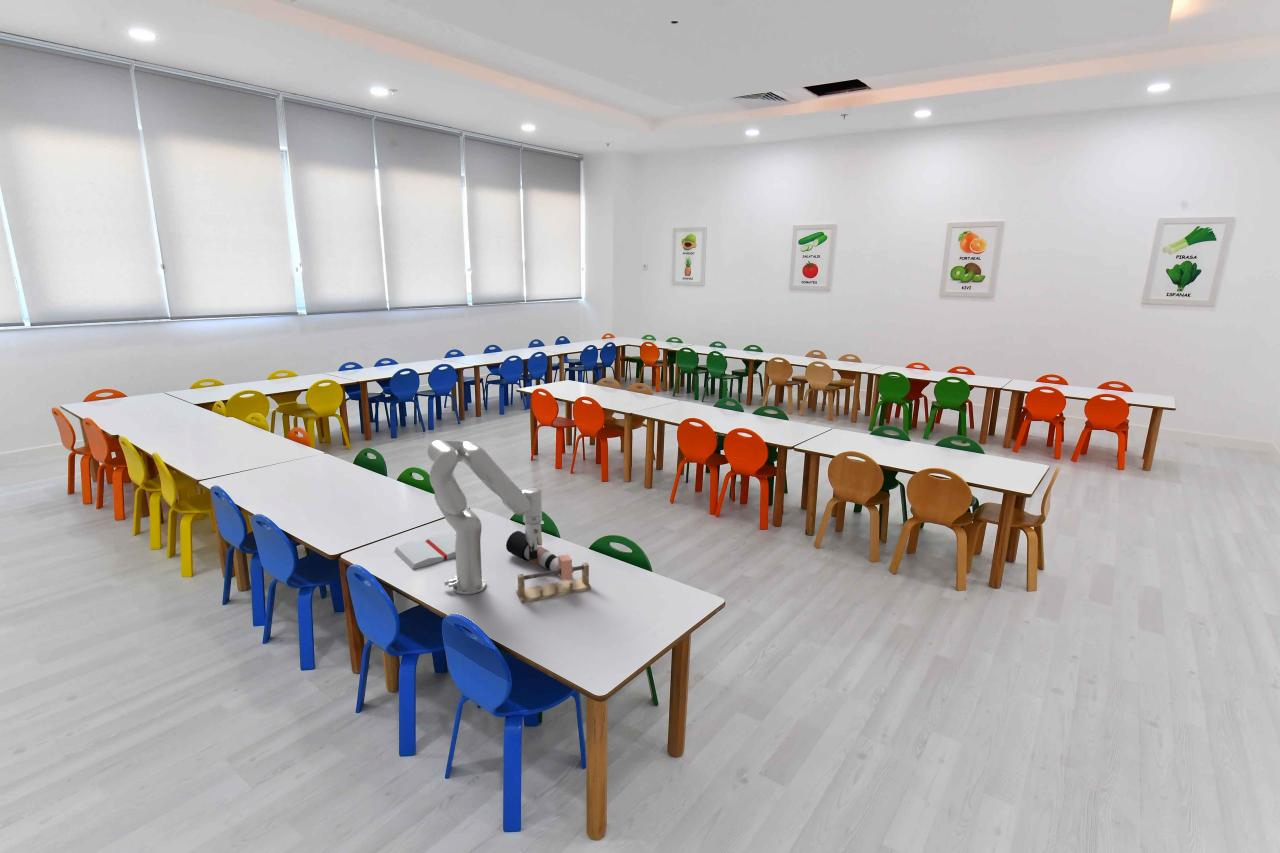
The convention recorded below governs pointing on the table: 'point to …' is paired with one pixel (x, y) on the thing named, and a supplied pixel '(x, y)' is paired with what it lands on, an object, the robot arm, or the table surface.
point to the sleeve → (565, 566)
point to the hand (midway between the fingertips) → (533, 558)
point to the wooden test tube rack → (553, 585)
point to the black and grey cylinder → (521, 549)
